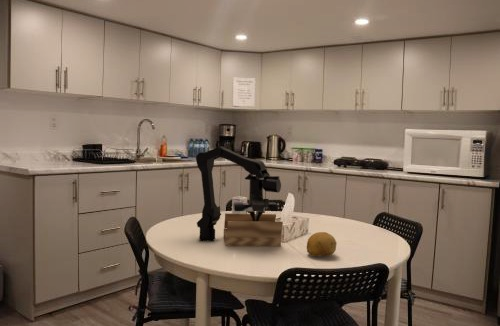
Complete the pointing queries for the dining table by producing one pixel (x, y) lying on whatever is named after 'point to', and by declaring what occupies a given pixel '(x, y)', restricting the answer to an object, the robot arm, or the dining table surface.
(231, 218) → the far flap
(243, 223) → the near flap
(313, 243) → the potato
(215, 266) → the dining table surface
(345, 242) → the dining table surface
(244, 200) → the syrup box
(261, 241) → the carton
